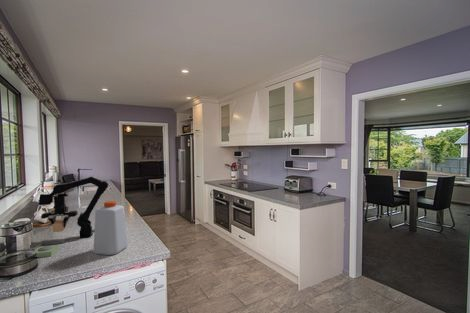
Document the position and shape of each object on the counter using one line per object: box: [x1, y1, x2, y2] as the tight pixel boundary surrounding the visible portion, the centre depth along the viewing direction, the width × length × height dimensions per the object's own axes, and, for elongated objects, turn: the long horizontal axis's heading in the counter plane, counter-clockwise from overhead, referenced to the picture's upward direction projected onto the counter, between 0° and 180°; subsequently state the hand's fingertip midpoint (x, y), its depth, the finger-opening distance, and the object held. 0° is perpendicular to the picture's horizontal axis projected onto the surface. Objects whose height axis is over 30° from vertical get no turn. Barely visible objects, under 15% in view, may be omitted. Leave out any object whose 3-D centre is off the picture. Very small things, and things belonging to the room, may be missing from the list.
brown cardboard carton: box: [52, 218, 68, 233], centre depth 163 cm, size 5×8×6 cm, turn 15°
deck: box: [33, 238, 66, 258], centre depth 148 cm, size 13×21×3 cm, turn 15°
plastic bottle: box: [93, 200, 129, 256], centre depth 147 cm, size 15×15×28 cm
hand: (60, 227), depth 164 cm, fingers closed on brown cardboard carton, 5 cm apart
